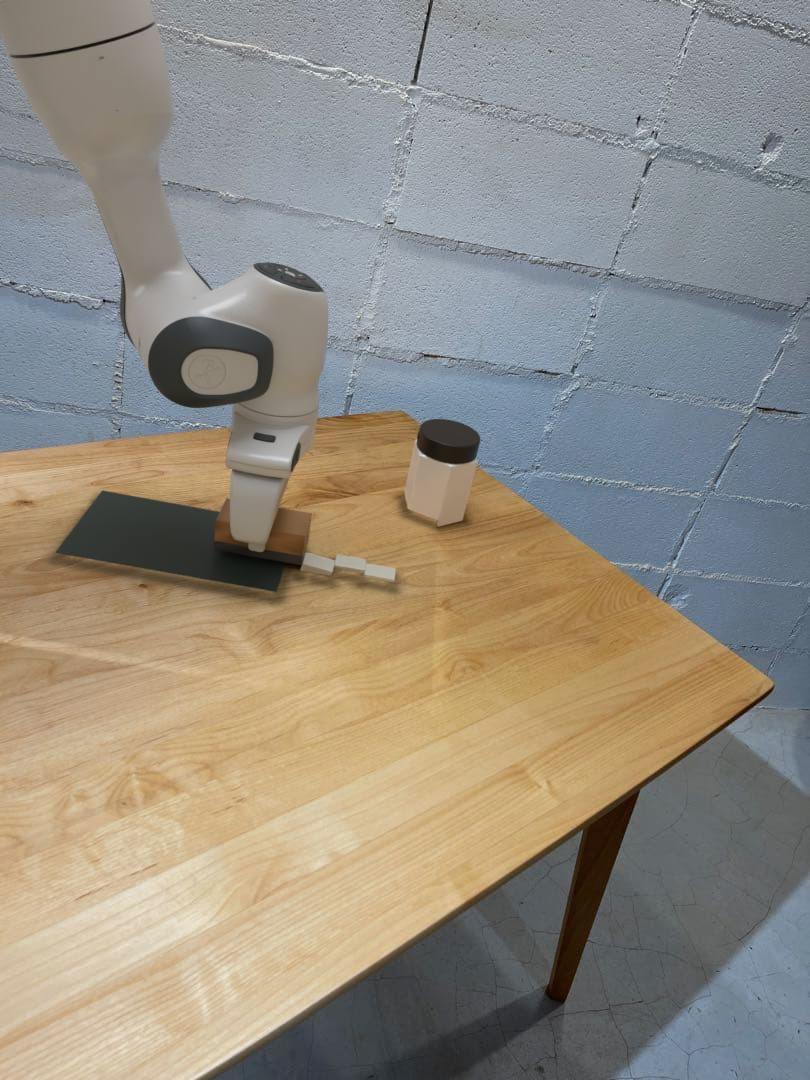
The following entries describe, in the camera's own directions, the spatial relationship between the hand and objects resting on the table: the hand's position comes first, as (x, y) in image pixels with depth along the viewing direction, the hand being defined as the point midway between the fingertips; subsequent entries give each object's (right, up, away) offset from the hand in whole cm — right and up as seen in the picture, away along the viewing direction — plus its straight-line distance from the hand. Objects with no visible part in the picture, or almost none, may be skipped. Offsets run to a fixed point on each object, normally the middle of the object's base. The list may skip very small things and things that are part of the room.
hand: (262, 533), depth 93 cm
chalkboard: (-9, -2, +1) cm, 10 cm away
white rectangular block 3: (+13, -4, +2) cm, 14 cm away
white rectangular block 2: (+10, -5, +3) cm, 11 cm away
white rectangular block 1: (+6, -4, +1) cm, 8 cm away
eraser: (0, -1, +1) cm, 2 cm away
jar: (+20, +3, +19) cm, 28 cm away
